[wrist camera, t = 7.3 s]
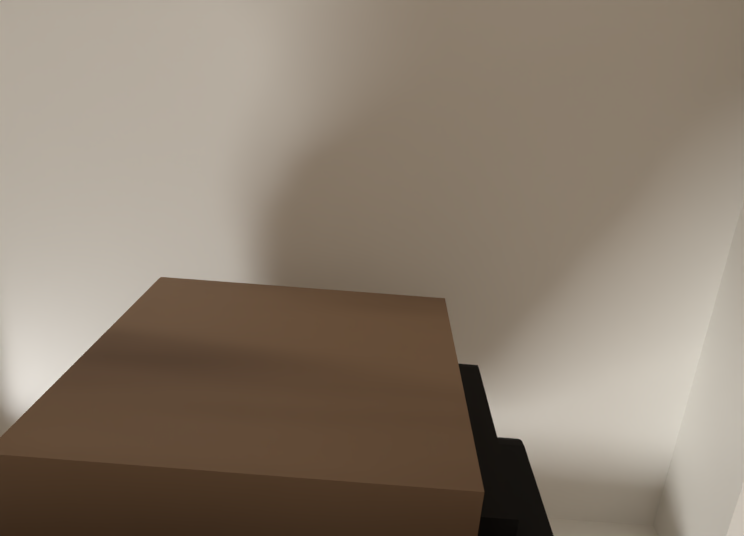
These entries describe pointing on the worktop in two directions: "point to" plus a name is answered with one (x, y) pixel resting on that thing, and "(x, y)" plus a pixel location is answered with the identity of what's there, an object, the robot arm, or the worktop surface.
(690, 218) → the tray
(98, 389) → the walnut block
